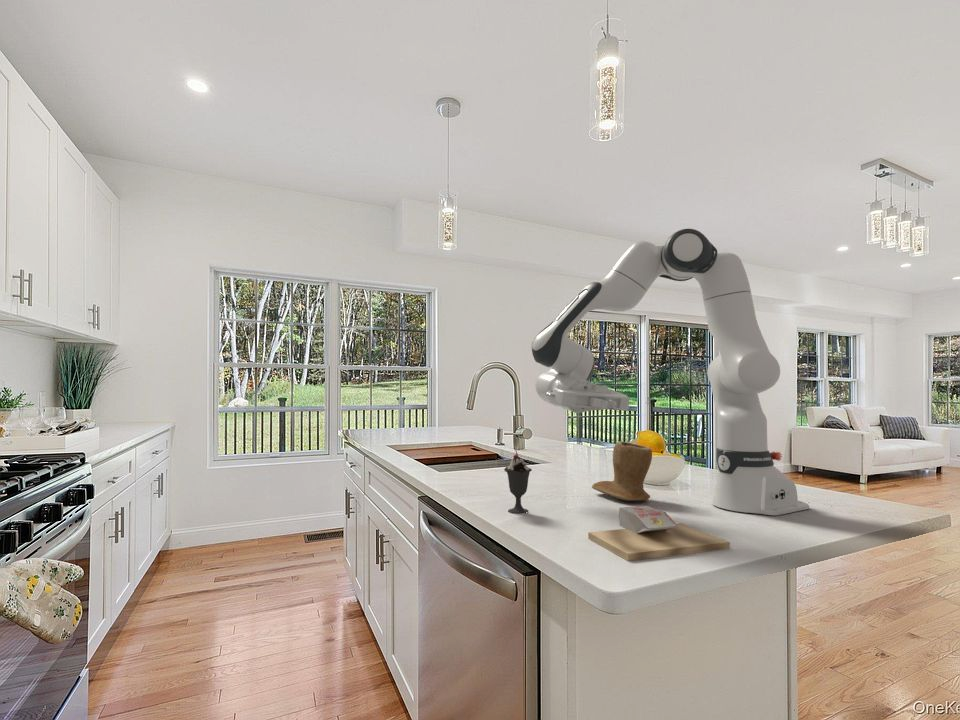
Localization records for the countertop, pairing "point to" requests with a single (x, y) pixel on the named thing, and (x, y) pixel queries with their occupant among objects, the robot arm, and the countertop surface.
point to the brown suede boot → (627, 472)
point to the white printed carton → (645, 519)
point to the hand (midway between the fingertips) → (611, 405)
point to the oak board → (657, 542)
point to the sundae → (518, 481)
